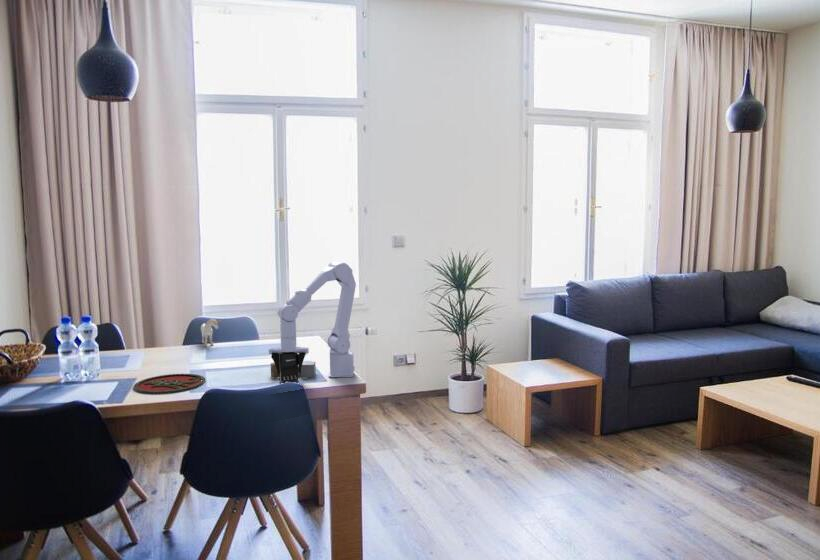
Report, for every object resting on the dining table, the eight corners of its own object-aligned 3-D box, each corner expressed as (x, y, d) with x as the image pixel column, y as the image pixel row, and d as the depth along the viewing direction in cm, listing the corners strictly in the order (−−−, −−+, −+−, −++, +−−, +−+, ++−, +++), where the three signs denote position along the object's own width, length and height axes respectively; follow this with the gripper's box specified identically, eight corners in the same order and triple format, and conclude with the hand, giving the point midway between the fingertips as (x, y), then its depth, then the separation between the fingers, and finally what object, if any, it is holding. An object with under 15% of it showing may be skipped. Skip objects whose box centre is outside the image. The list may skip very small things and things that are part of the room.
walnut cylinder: (284, 374, 243) (284, 361, 242) (282, 377, 238) (282, 365, 237) (272, 374, 243) (271, 362, 242) (269, 378, 238) (269, 365, 237)
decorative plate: (186, 392, 216) (119, 391, 219) (186, 396, 216) (119, 394, 219) (216, 374, 241) (155, 373, 243) (216, 377, 241) (156, 375, 244)
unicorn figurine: (212, 349, 289) (211, 321, 288) (192, 343, 303) (191, 316, 301) (226, 346, 294) (225, 319, 293) (206, 341, 308) (205, 314, 306)
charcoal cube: (315, 374, 243) (315, 361, 243) (314, 377, 238) (313, 364, 238) (302, 374, 243) (302, 361, 243) (301, 377, 238) (300, 364, 238)
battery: (281, 383, 229) (281, 353, 228) (279, 381, 233) (278, 351, 232) (300, 381, 232) (299, 351, 231) (297, 379, 236) (296, 349, 235)
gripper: (309, 334, 235) (310, 369, 236) (270, 334, 234) (271, 369, 236) (306, 338, 228) (307, 374, 229) (267, 338, 227) (268, 374, 229)
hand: (289, 372), depth 232 cm, fingers open, 7 cm apart
